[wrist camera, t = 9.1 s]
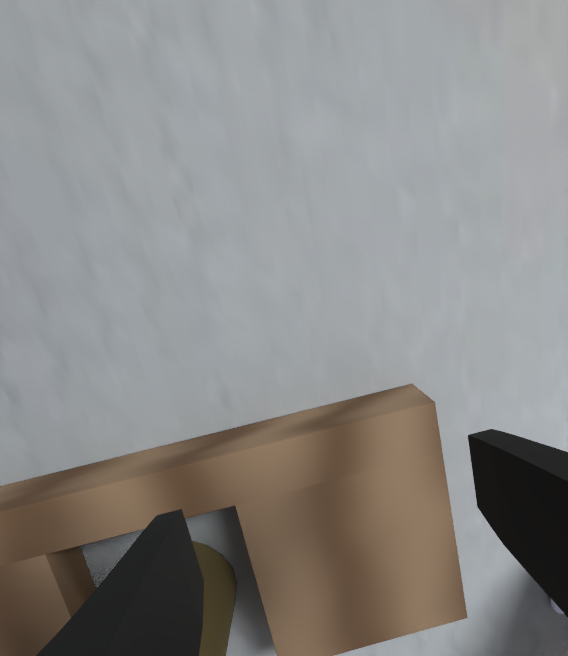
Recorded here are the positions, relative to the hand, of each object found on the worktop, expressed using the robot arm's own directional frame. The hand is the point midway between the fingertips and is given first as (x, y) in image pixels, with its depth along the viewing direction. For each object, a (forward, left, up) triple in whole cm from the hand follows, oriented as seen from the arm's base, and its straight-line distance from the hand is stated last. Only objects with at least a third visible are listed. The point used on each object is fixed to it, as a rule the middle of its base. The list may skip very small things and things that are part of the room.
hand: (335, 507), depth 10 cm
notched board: (+5, +8, -10) cm, 14 cm away
